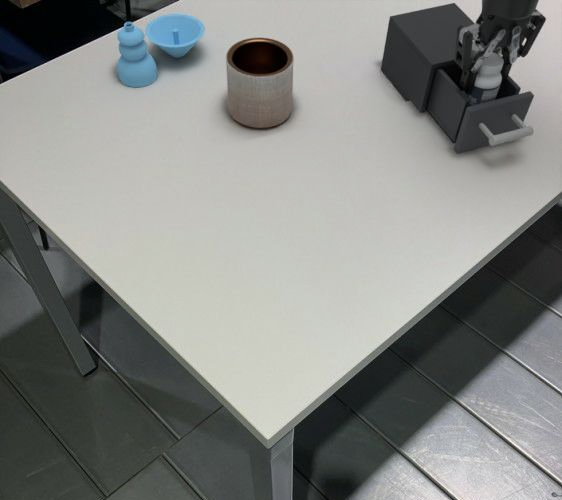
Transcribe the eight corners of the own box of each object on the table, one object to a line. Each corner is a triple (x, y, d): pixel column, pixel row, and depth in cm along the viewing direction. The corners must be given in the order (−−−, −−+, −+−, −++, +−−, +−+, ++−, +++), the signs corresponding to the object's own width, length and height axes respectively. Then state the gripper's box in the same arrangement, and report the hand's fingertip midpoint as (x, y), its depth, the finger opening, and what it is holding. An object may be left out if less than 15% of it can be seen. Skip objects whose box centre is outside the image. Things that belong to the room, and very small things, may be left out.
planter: (218, 99, 107) (215, 45, 99) (276, 84, 110) (277, 30, 101) (242, 137, 102) (241, 83, 94) (302, 121, 104) (305, 67, 96)
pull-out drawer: (533, 156, 100) (552, 113, 93) (472, 173, 97) (487, 130, 91) (474, 90, 108) (488, 47, 102) (417, 104, 106) (427, 61, 99)
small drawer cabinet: (482, 102, 108) (500, 48, 100) (419, 117, 106) (432, 64, 97) (441, 55, 115) (454, 2, 107) (380, 69, 113) (389, 16, 104)
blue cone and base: (180, 30, 117) (174, -20, 110) (218, 54, 114) (215, 3, 106) (104, 70, 110) (92, 19, 103) (142, 97, 107) (133, 46, 99)
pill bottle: (451, 104, 102) (466, 52, 95) (478, 97, 103) (495, 46, 96) (468, 124, 100) (484, 72, 92) (496, 116, 101) (514, 65, 93)
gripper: (488, -6, 80) (454, 110, 94) (580, -25, 83) (533, 90, 97) (458, -34, 83) (430, 82, 98) (547, -52, 86) (507, 64, 101)
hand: (481, 86), depth 98 cm, fingers closed on pill bottle, 5 cm apart
